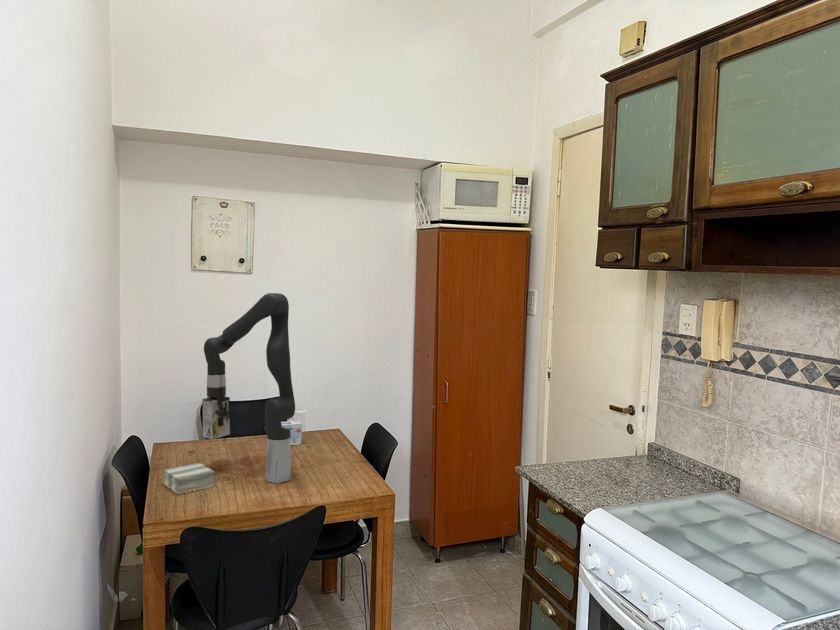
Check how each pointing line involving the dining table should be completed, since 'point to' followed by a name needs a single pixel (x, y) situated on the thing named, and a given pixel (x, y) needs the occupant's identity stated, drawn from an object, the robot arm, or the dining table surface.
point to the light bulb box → (294, 431)
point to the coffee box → (215, 418)
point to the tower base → (189, 478)
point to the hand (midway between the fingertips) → (216, 424)
